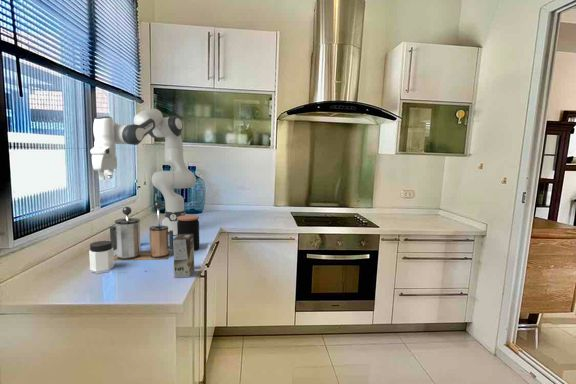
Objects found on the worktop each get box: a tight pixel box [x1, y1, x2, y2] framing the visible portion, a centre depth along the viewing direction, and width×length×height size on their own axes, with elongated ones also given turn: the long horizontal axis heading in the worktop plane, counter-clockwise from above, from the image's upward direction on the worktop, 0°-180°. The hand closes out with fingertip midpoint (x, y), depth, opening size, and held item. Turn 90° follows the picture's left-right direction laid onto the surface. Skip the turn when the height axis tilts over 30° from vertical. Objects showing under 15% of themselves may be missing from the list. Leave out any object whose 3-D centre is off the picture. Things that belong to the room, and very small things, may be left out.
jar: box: [88, 240, 115, 275], centre depth 139 cm, size 9×8×12 cm
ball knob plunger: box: [154, 201, 163, 228], centre depth 155 cm, size 6×6×17 cm
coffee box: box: [173, 234, 195, 278], centre depth 137 cm, size 9×6×16 cm
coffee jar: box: [177, 214, 200, 252], centre depth 168 cm, size 11×11×18 cm
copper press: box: [148, 225, 174, 258], centre depth 157 cm, size 8×10×14 cm
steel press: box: [109, 217, 142, 261], centre depth 154 cm, size 10×12×18 cm
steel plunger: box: [122, 206, 132, 221], centre depth 154 cm, size 7×7×22 cm
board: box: [114, 249, 174, 262], centre depth 157 cm, size 14×26×1 cm, turn 98°
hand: (106, 179), depth 159 cm, fingers open, 8 cm apart
